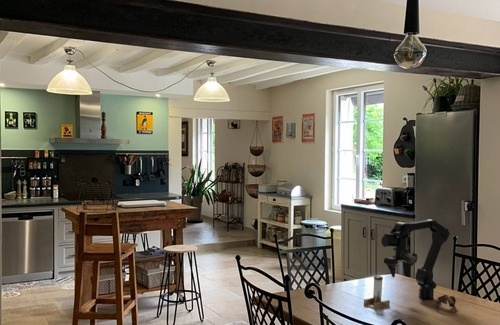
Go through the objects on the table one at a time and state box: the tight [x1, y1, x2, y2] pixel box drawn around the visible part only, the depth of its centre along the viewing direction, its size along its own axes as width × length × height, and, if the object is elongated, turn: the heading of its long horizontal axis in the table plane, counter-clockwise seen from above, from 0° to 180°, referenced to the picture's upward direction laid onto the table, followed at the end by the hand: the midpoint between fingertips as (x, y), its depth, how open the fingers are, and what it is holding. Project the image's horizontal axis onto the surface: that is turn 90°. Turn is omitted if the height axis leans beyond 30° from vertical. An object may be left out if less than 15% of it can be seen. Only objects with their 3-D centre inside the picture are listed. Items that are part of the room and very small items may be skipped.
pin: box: [372, 275, 384, 305], centre depth 250 cm, size 4×4×14 cm
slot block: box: [363, 297, 390, 310], centre depth 250 cm, size 10×8×3 cm
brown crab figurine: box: [433, 294, 457, 314], centre depth 247 cm, size 12×10×8 cm
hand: (399, 276), depth 259 cm, fingers open, 9 cm apart
